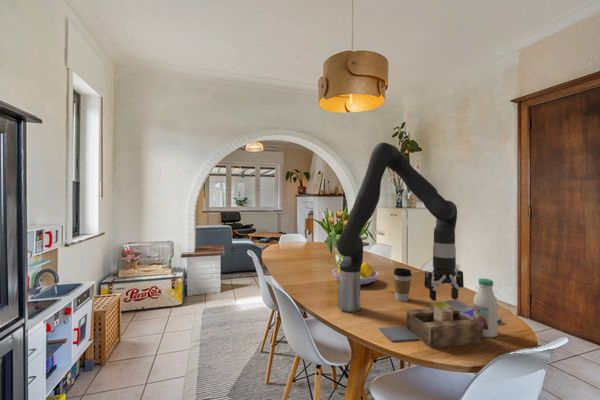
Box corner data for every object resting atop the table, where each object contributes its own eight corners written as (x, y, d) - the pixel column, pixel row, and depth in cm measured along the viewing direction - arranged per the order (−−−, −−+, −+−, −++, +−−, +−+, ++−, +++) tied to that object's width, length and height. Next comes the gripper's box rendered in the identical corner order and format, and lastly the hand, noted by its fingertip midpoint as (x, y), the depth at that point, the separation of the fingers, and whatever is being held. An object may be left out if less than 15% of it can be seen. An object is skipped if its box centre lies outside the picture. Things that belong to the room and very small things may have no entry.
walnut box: (430, 347, 100) (430, 326, 100) (406, 328, 115) (407, 310, 115) (482, 343, 103) (483, 323, 103) (453, 324, 118) (453, 307, 118)
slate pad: (391, 342, 103) (391, 340, 103) (379, 329, 113) (379, 327, 113) (418, 340, 105) (418, 338, 105) (403, 327, 115) (403, 326, 115)
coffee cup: (399, 303, 142) (400, 271, 142) (389, 297, 150) (390, 267, 150) (414, 301, 144) (415, 270, 144) (404, 295, 153) (404, 266, 152)
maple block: (441, 331, 106) (441, 312, 106) (433, 326, 111) (433, 307, 111) (452, 330, 107) (452, 311, 107) (444, 325, 112) (444, 306, 112)
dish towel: (468, 329, 115) (468, 322, 115) (427, 306, 139) (428, 300, 139) (505, 325, 119) (505, 319, 119) (459, 304, 143) (460, 298, 143)
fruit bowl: (381, 290, 162) (381, 269, 162) (330, 287, 166) (331, 266, 166) (376, 276, 189) (376, 258, 189) (333, 274, 194) (333, 256, 194)
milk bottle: (488, 328, 115) (489, 277, 115) (502, 338, 108) (503, 282, 107) (468, 328, 115) (469, 276, 115) (480, 338, 107) (482, 282, 107)
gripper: (432, 257, 104) (432, 304, 104) (469, 256, 106) (468, 302, 106) (420, 253, 111) (420, 297, 111) (454, 252, 114) (454, 295, 114)
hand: (443, 299), depth 109 cm, fingers open, 8 cm apart
